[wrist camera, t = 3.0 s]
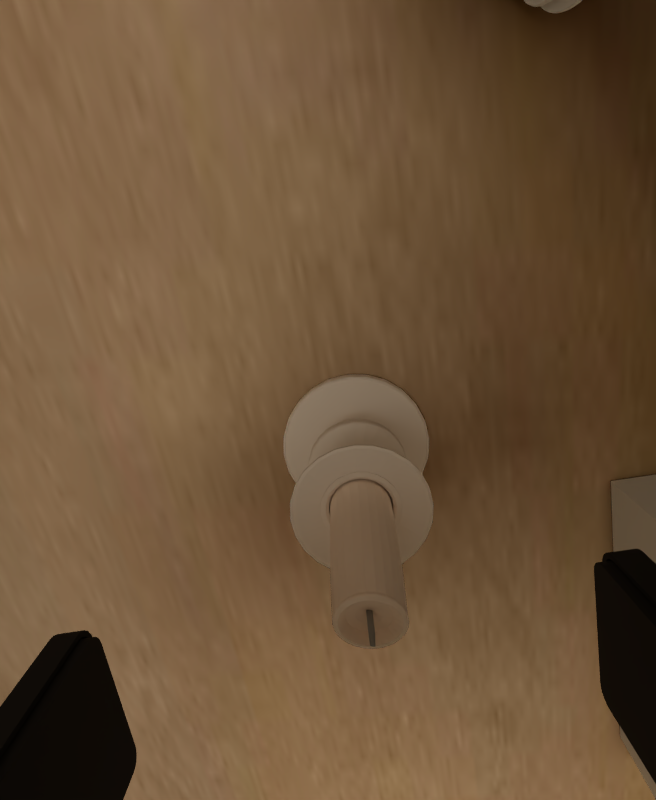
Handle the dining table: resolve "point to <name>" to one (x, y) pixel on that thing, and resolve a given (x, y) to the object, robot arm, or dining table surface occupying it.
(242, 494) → the dining table surface
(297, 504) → the candle
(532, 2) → the shell sculpture
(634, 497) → the plinth
